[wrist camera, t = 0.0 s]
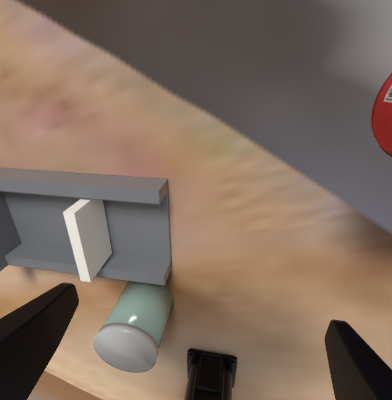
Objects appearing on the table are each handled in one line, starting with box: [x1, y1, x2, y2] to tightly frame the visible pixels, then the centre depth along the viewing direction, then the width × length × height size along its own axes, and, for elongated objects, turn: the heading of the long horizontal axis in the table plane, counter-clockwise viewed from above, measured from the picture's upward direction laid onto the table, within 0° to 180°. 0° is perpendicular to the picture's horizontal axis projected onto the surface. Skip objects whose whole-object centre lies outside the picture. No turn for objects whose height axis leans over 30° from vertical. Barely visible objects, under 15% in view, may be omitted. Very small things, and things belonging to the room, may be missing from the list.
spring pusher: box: [63, 198, 112, 282], centre depth 24 cm, size 7×1×4 cm, turn 0°
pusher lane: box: [0, 168, 172, 285], centre depth 24 cm, size 10×19×5 cm, turn 90°
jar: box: [94, 281, 173, 373], centre depth 27 cm, size 6×6×7 cm
